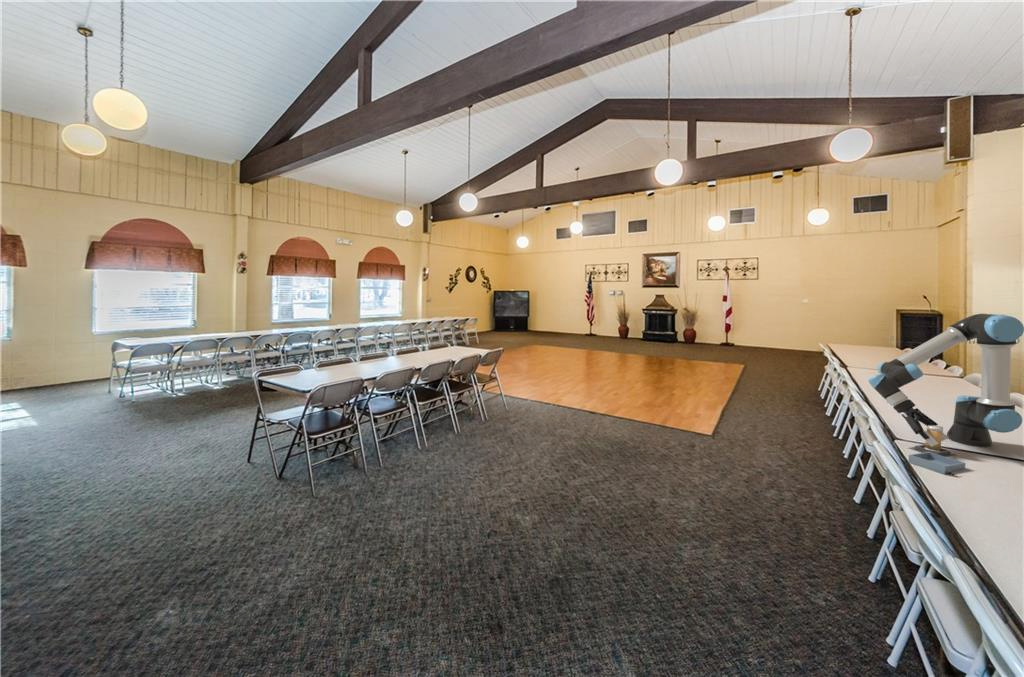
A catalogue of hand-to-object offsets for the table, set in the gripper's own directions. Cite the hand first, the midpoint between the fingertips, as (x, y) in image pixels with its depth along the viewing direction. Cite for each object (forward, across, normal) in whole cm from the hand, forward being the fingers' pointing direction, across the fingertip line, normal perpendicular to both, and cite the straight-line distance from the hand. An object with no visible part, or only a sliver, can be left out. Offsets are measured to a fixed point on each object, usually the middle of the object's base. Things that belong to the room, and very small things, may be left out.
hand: (940, 442), depth 184 cm
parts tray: (+7, +18, -2) cm, 19 cm away
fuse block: (+3, 0, -6) cm, 7 cm away
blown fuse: (+2, 0, -5) cm, 6 cm away
